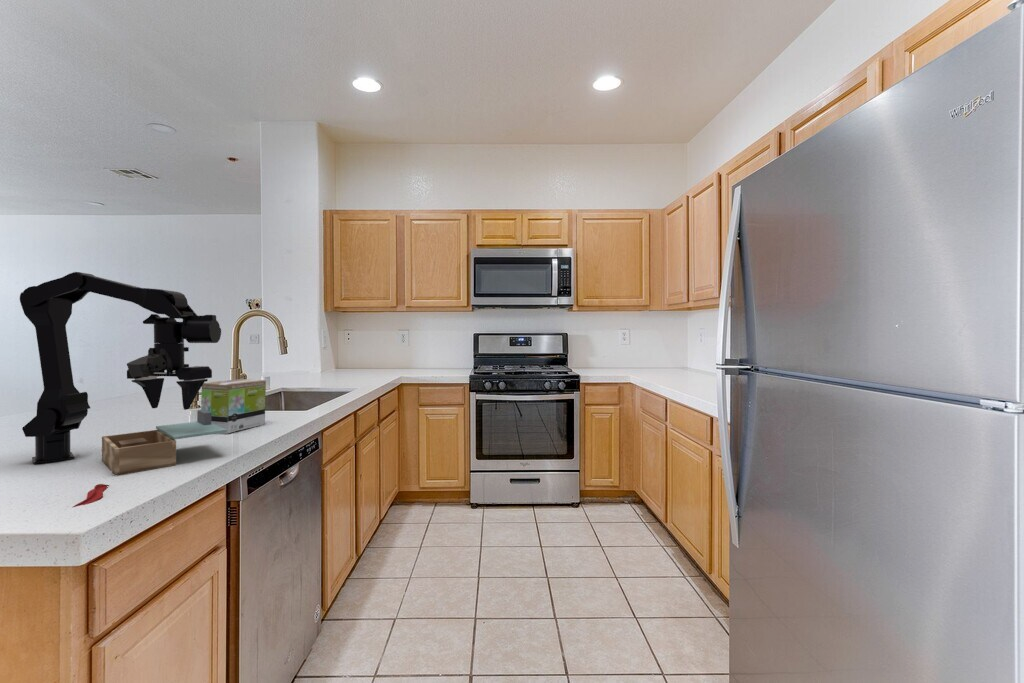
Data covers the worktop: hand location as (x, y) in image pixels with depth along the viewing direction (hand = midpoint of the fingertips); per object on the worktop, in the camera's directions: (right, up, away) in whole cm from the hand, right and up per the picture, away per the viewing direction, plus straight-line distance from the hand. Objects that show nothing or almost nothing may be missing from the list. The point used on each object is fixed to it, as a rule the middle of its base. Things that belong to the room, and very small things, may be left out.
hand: (170, 408), depth 108 cm
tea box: (-4, -11, +32) cm, 34 cm away
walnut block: (-4, -11, -6) cm, 13 cm away
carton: (-3, -12, -5) cm, 13 cm away
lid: (+3, -6, +2) cm, 7 cm away
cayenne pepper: (+5, -13, -26) cm, 29 cm away
